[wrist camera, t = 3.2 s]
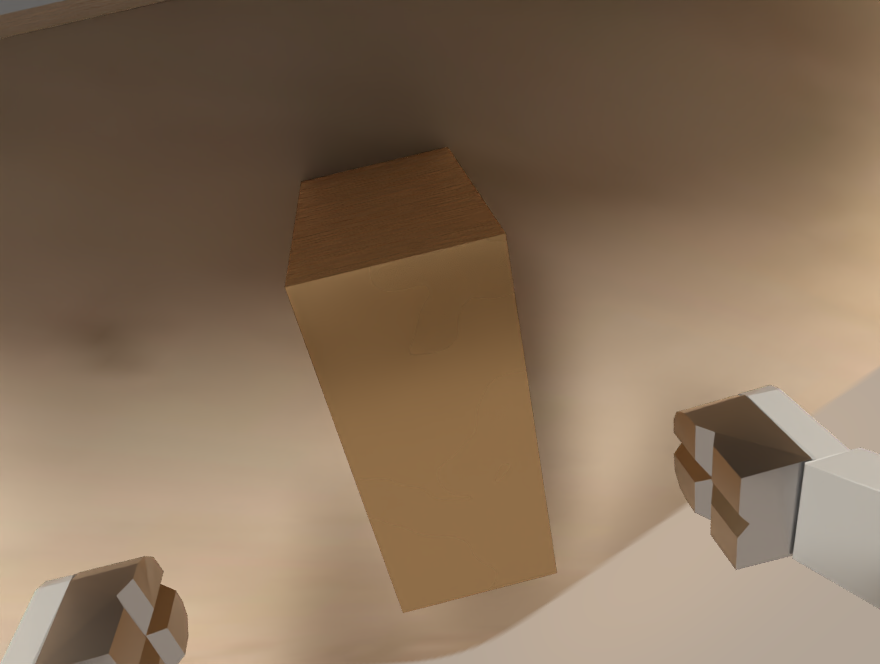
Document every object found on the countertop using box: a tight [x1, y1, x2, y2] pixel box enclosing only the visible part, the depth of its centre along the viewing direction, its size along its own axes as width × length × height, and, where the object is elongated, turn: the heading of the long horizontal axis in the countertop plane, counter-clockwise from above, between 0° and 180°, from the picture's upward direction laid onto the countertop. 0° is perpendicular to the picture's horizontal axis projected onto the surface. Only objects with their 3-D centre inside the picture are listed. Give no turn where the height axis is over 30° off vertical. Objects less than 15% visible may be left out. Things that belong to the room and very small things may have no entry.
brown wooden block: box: [285, 147, 557, 613], centre depth 12 cm, size 3×7×5 cm, turn 12°
